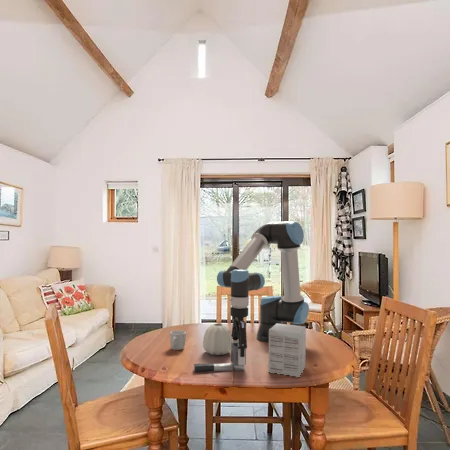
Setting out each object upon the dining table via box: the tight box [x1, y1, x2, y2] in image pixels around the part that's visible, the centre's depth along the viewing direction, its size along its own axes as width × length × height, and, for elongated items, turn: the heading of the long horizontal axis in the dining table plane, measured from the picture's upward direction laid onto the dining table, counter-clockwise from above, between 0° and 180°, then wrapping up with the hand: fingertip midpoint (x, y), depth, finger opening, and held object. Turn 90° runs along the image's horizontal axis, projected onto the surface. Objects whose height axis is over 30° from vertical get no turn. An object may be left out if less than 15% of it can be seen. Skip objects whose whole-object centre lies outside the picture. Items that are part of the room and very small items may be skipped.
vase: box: [202, 323, 233, 356], centre depth 170 cm, size 14×14×13 cm
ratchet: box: [193, 362, 245, 373], centre depth 147 cm, size 21×5×6 cm, turn 101°
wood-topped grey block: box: [230, 342, 247, 366], centre depth 149 cm, size 5×5×8 cm
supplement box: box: [267, 323, 307, 378], centre depth 149 cm, size 13×13×18 cm
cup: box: [169, 329, 187, 351], centre depth 174 cm, size 11×8×8 cm
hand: (238, 359), depth 149 cm, fingers open, 10 cm apart
